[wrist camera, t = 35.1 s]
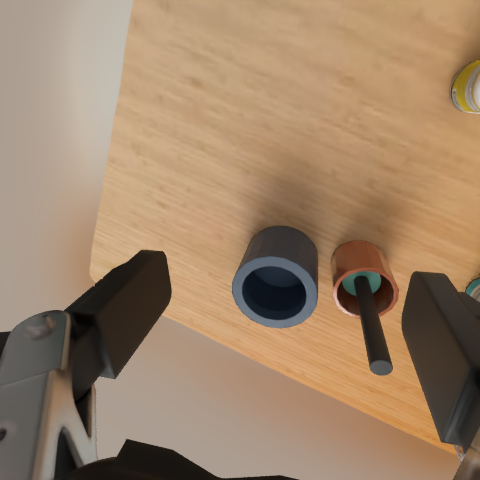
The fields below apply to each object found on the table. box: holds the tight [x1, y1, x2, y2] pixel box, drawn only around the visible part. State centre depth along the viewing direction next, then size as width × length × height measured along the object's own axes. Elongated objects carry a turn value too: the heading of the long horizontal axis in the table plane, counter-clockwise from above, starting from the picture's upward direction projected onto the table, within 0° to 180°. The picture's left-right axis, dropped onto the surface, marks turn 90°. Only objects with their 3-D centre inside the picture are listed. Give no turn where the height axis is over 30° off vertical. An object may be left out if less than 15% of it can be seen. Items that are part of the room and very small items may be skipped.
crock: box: [331, 241, 399, 318], centre depth 42 cm, size 8×8×8 cm
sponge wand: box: [342, 271, 393, 375], centre depth 37 cm, size 5×5×19 cm
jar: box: [232, 226, 318, 328], centre depth 44 cm, size 11×11×10 cm
